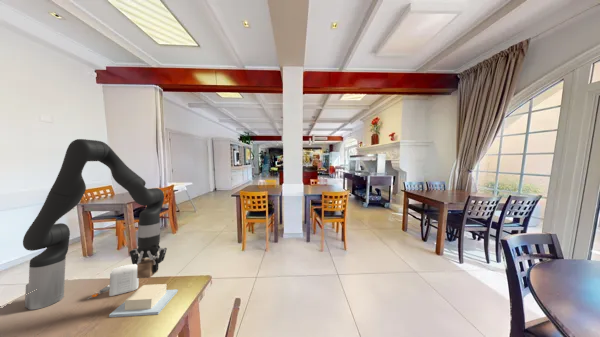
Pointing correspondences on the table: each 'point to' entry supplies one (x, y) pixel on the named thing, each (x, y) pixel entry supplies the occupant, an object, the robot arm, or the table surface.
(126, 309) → the butter dish
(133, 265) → the photo printer
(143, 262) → the walnut block
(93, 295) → the key chain
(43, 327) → the table surface
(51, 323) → the table surface
